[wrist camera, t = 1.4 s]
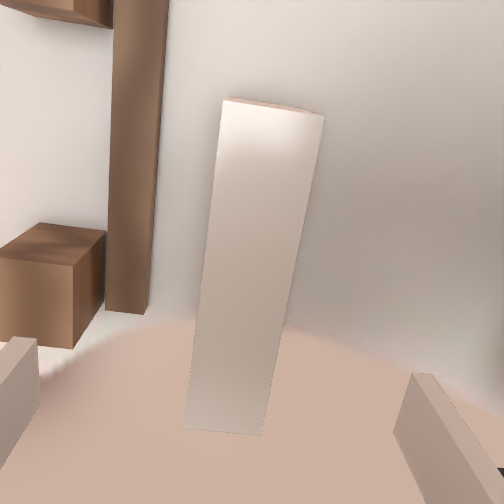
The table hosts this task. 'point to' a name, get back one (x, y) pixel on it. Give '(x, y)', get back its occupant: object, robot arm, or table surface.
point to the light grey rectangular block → (249, 260)
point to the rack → (120, 192)
